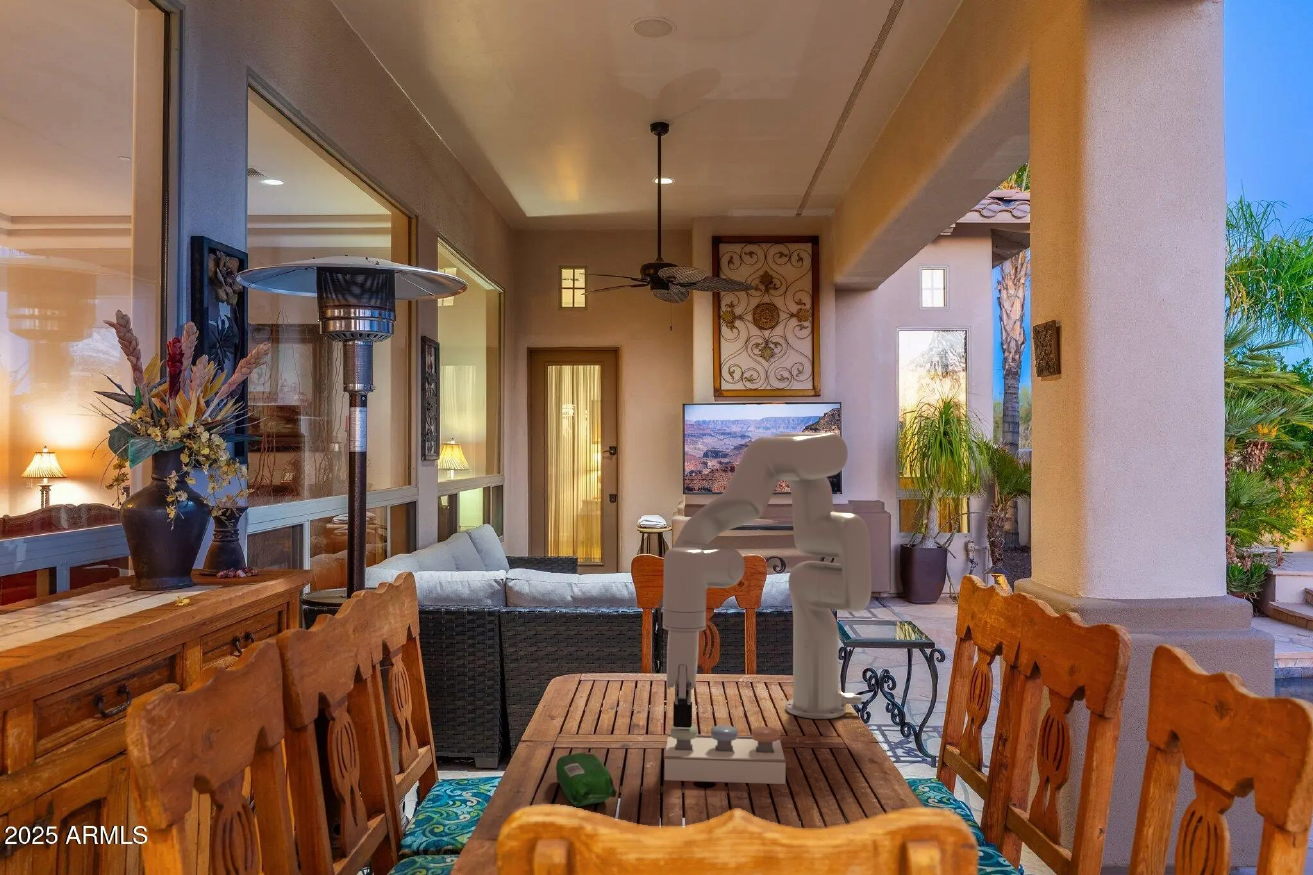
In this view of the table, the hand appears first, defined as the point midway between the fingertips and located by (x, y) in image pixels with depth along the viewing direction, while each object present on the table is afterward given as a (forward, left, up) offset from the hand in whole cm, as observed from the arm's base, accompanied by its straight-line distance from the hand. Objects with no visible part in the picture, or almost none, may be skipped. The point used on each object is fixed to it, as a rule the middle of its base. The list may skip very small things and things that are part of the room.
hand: (682, 725), depth 147 cm
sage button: (0, 0, -4) cm, 4 cm away
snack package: (+15, +13, -8) cm, 21 cm away
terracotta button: (-14, 0, -4) cm, 15 cm away
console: (-7, 0, -7) cm, 10 cm away
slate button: (-7, 0, -4) cm, 8 cm away
